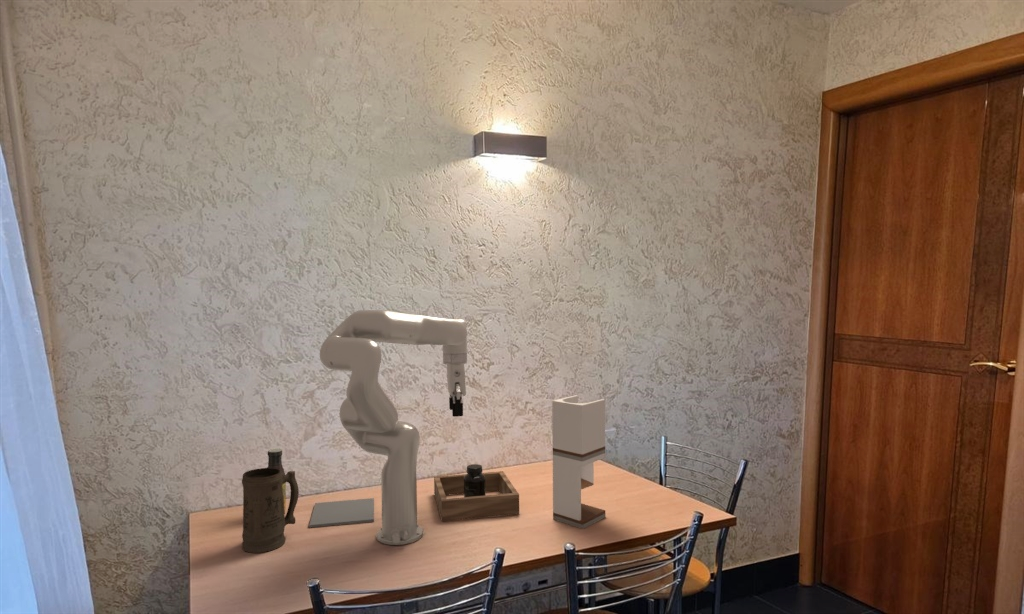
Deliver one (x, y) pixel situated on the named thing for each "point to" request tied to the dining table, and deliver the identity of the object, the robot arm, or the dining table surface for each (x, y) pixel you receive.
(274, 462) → the sauce bottle
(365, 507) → the mat
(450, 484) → the crate
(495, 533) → the dining table surface
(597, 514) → the white notched column
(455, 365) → the robot arm
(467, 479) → the supplement bottle
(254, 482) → the beer stein
